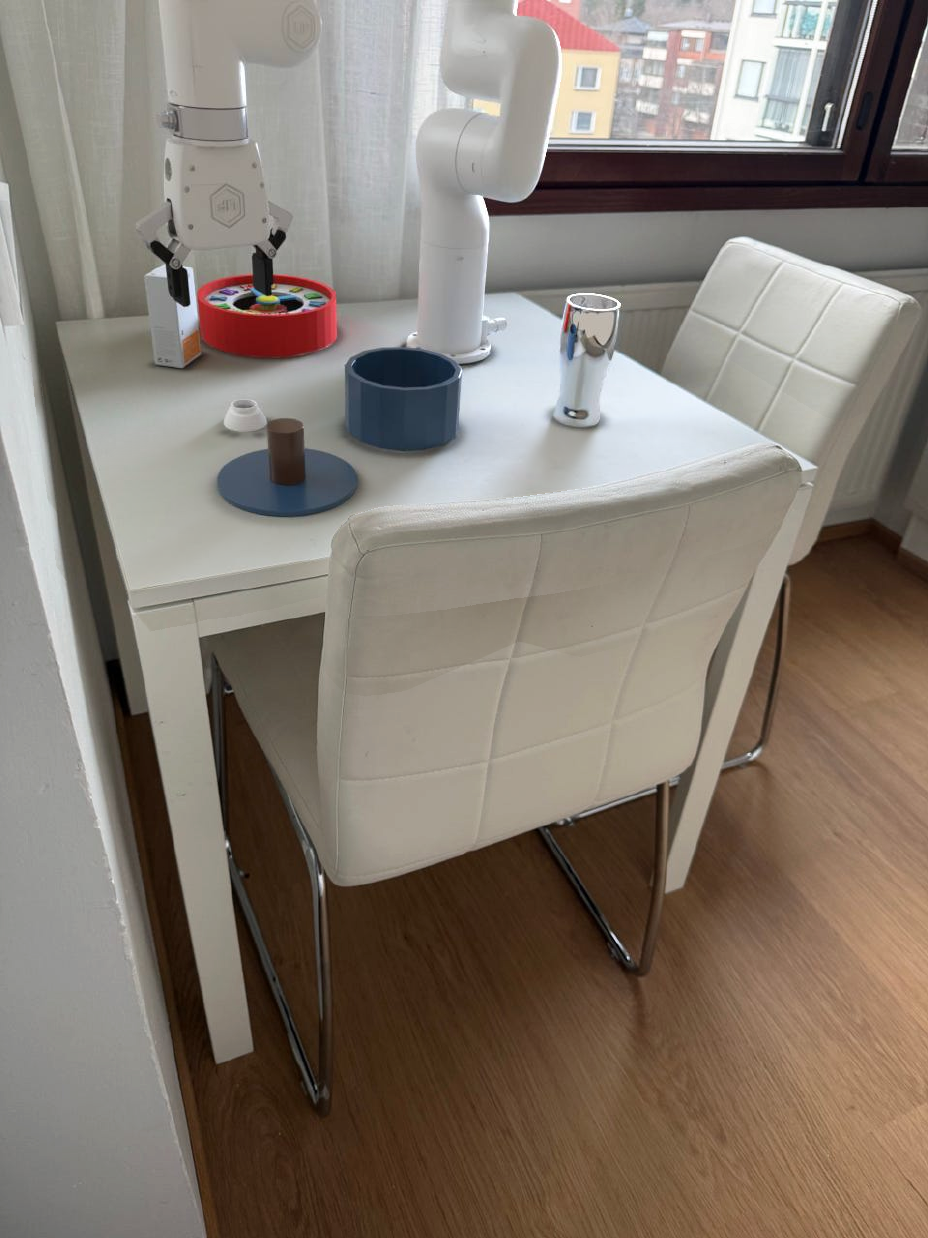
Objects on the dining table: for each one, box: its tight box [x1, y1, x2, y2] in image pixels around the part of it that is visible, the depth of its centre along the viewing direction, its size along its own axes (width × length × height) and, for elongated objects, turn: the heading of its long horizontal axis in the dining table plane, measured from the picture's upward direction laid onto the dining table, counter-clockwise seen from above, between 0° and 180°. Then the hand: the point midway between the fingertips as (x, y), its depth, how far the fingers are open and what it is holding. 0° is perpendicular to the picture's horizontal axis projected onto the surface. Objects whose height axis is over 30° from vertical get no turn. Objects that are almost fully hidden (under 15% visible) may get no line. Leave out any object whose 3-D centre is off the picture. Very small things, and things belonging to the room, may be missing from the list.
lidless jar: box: [223, 398, 268, 433], centre depth 110 cm, size 5×3×5 cm
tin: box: [344, 346, 463, 452], centre depth 110 cm, size 14×14×8 cm
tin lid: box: [216, 417, 358, 517], centre depth 97 cm, size 15×15×7 cm
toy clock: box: [196, 273, 338, 359], centre depth 135 cm, size 20×6×20 cm
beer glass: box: [552, 293, 621, 428], centre depth 115 cm, size 7×7×15 cm
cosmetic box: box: [143, 263, 202, 369], centre depth 123 cm, size 6×4×12 cm
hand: (223, 297), depth 102 cm, fingers open, 9 cm apart
